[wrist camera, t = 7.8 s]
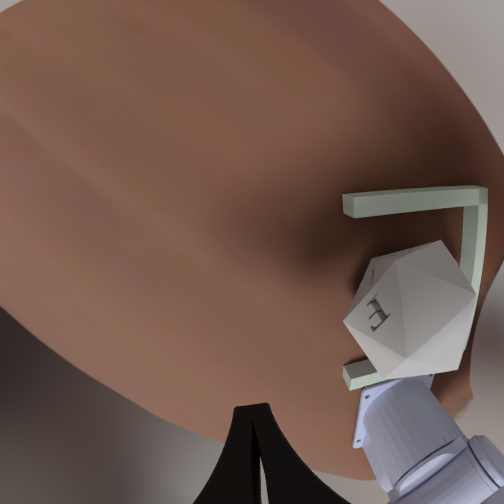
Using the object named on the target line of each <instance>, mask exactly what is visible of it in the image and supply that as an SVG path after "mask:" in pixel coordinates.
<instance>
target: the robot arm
mask: <svg viewBox="0 0 504 504" xmlns="http://www.w3.org/2000/svg"><path fill="white" fill-rule="evenodd" d="M434 375H435V374H428V375H420V376H413V377H404V378H395V379H391V380H388V381H384V382H381V383H378V384H375V385H371V386H368V387H365V388H364V389H363V390H362V392H361V398H360V405H359V411H358V417H357V423H356V429H355V434H354V439H353V444H352V445H353V448H359V447H363V449H364V451H365V454H366V456H367V458H368V460H369V463H370V465H371V467H372V469H373V472H374V474H375V476H376V479H377V481H378V483H379V485H380V486H381V487H382V489H384V490H385V491H387V492H388V493H387V494H388V497H389V499H390V502H388V503H387V504H504V456H503V454H502V453H501V452H500V451H499V449H498V448H497V447H496V446H495V445H494V444H493V443H492V442H491V441H490V440H489V439H488V438H487V437H486V436H484V435H479V436H477V435H475V436H473V437H472V438H471V439H467V438H466V436H465V435H464V434H463V432H462V431H461V429H460V428H459V427H458V425H457V424H456V423H455V422H454V420H453V419H452V418H451V416H450V415H449V414H448V412H447V411H446V410H445V408H444V407H443V406H442V405H441V403H440V402H439V401H438V399H437V398H436V397H435V396H434V394H433V393H432V392H431V391H430V388H431V385H432V382H433V378H434ZM260 457H261V461H262V465H263V469H264V473H265V478H266V486H267V494H268V502H269V504H351V503H349V502H348V501H346V500H345V499H344V498H342V497H341V496H339V495H338V494H337V493H336V492H334V491H333V490H332V489H331V488H330V487H328V486H327V485H326V484H325V483H324V482H323V481H321V480H320V479H319V478H318V477H317V476H316V475H315V474H314V473H313V472H312V471H311V470H310V469H309V468H308V466H307V465H306V464H305V463H304V462H303V461H302V460H301V458H300V457H299V456H298V455H297V453H296V452H295V451H294V449H293V448H292V447H291V445H290V444H289V442H288V441H287V439H286V438H285V436H284V435H283V433H282V432H281V430H280V428H279V426H278V424H277V422H276V421H275V418H274V416H273V414H272V411H271V409H270V405H269V404H268V403H261V404H253V405H246V406H237V407H235V408H234V412H233V418H232V423H231V427H230V430H229V434H228V437H227V440H226V442H225V446H224V448H223V451H222V453H221V456H220V458H219V460H218V462H217V464H216V467H215V469H214V471H213V473H212V474H211V476H210V478H209V480H208V481H207V483H206V485H205V486H204V488H203V489H202V491H201V493H200V494H199V496H198V497H197V499H196V500H195V501H194V503H193V504H262V503H261V477H260Z"/></svg>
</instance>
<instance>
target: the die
mask: <svg viewBox="0 0 504 504" xmlns="http://www.w3.org/2000/svg"><path fill="white" fill-rule="evenodd" d="M476 295H477V294H476V293H475V291H474V289H473V288H472V286H471V284H470V283H469V281H468V279H467V278H466V276H465V275H464V273H463V272H462V270H461V268H460V267H459V265H458V264H457V262H456V261H455V259H454V258H453V256H452V255H451V254H450V252H449V251H448V249H447V248H446V246H445V245H444V243H443V242H442V241H441V240H438V241H435V242H431V243H428V244H424V245H420V246H417V247H413V248H409V249H405V250H402V251H398V252H394V253H390V254H387V255H383V256H379V257H375V258H371V261H370V263H369V266H368V268H367V270H366V273H365V275H364V277H363V280H362V282H361V284H360V286H359V288H358V290H357V293H356V295H355V297H354V299H353V301H352V303H351V305H350V308H349V310H348V312H347V314H346V316H345V318H344V320H343V322H344V324H345V325H346V327H347V328H348V329H349V331H350V332H351V334H352V335H353V337H354V338H355V339H356V341H357V342H358V344H359V345H360V347H361V348H362V350H363V351H364V352H365V354H366V355H367V357H368V358H369V360H370V361H371V363H372V364H373V366H374V367H375V368H376V370H377V371H378V373H379V374H380V376H381V377H382V379H383V380H385V379H395V378H404V377H413V376H420V375H428V374H435V373H441V372H447V371H453V370H458V367H459V364H460V361H461V358H462V354H463V351H464V347H465V344H466V340H467V336H468V332H469V328H470V324H471V320H472V315H473V311H474V306H475V301H476Z"/></svg>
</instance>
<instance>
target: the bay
mask: <svg viewBox="0 0 504 504" xmlns="http://www.w3.org/2000/svg"><path fill="white" fill-rule="evenodd" d="M342 200H343V213H344V214H346V215H349V216H351V217H353V218H361V217H370V216H378V215H387V214H395V213H404V212H413V211H422V210H432V209H441V208H451V207H461V206H463V232H462V247H461V258H460V268H461V270H462V272H463V273H464V275H465V276H466V278H467V279H468V281H469V283H470V284H471V286H472V288H473V289H474V291H475V293H476V294H477V295H476V301H475V306H474V311H473V315H472V320H471V324H470V328H469V332H468V336H467V340H466V344H465V347H464V350H465V349H466V345H467V341H468V338H469V334H470V330H471V326H472V322H473V317H474V313H475V308H476V303H477V298H478V293H479V287H480V281H481V275H482V268H483V260H484V251H485V241H486V229H487V209H488V188H484V187H479V186H474V185H468V186H445V187H427V188H411V189H397V190H384V191H372V192H360V193H349V194H342ZM343 378H344V380H345V382H346V384H347V386H348V388H349V390H353V389H357V388H361V387H364V386H368V385H371V384H375V383H378V382H381V381H384V380H383V379H382V377H381V376H380V374H379V373H378V371H377V370H376V368H375V367H374V366H373V364H372V363H371V361H370V360H369V359H367V360H363V361H360V362H356V363H352V364H348V365H344V366H343ZM385 380H388V379H385Z"/></svg>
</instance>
